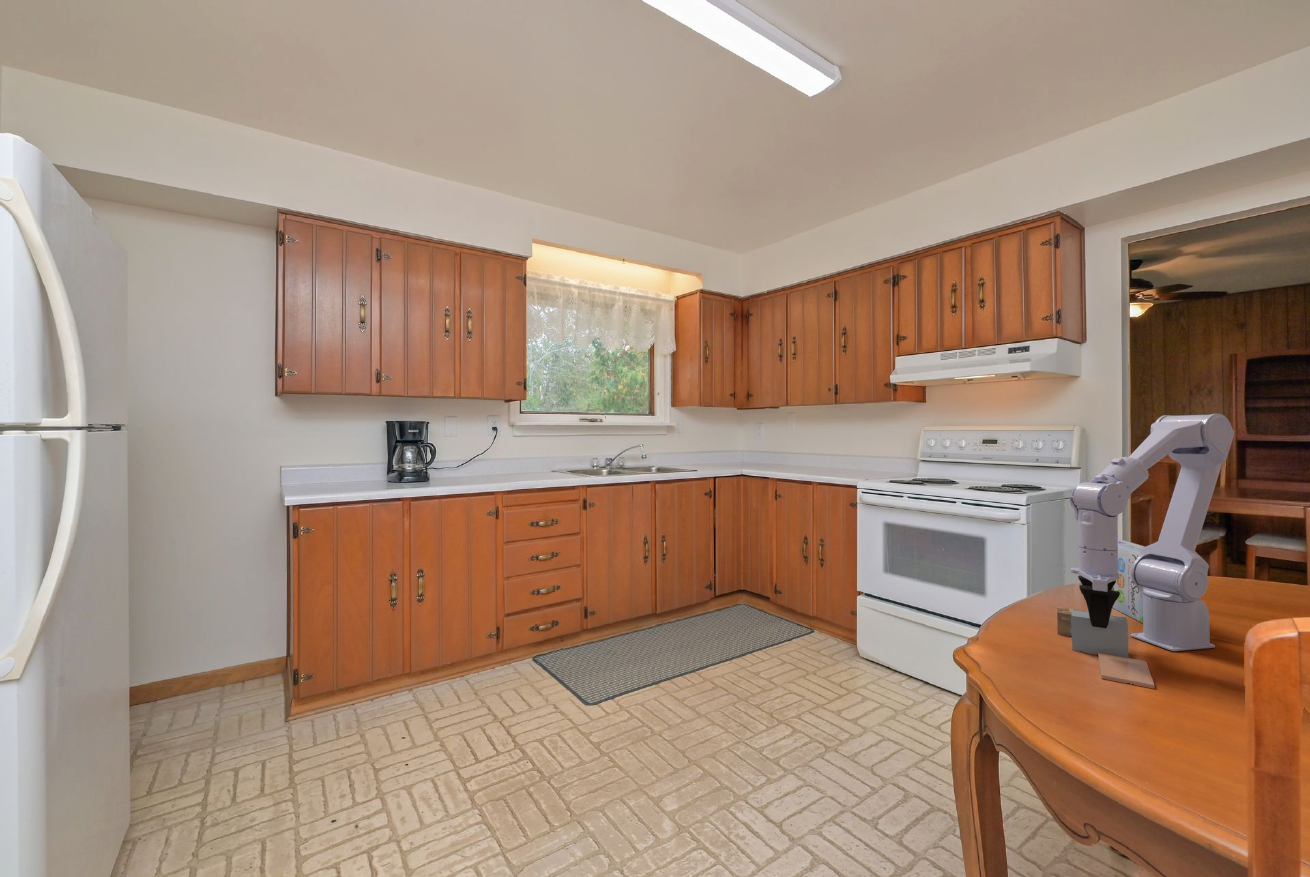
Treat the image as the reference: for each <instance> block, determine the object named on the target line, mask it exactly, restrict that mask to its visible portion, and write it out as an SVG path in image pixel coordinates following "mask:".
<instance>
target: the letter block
mask: <svg viewBox="0 0 1310 877" xmlns="http://www.w3.org/2000/svg"><path fill="white" fill-rule="evenodd" d="M1056 608H1057V611H1056V612H1057V613H1056V614H1057V623H1056V624H1057V635H1059V634H1064V635H1063V636H1065V635H1067V636H1066V637H1071V636H1072V610H1075V611H1082V612H1086V610H1085V609H1078V608H1072V607H1071V608H1070V607H1065V606H1064V607H1063V606H1057V607H1056Z"/></svg>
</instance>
